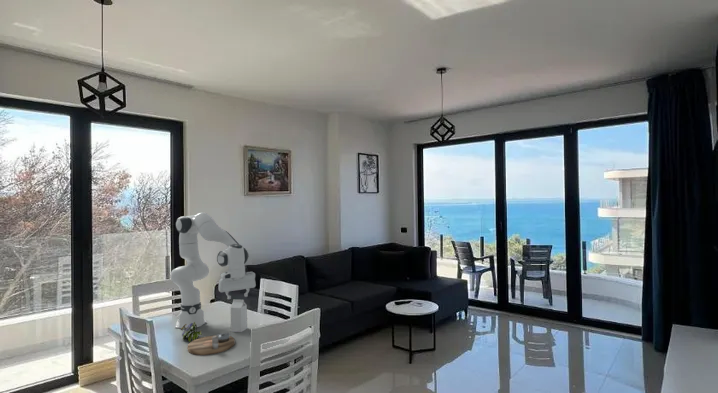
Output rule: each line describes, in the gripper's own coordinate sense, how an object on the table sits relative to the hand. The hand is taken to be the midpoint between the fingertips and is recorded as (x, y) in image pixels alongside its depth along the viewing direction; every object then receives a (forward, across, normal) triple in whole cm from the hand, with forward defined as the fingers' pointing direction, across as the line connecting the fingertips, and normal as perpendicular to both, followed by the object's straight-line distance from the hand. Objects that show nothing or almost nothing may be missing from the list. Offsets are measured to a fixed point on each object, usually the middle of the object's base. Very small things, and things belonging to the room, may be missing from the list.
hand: (237, 297), depth 228 cm
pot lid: (+22, +9, 0) cm, 24 cm away
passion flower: (+25, +22, -20) cm, 39 cm away
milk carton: (+25, -5, -19) cm, 32 cm away
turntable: (+24, +15, 0) cm, 28 cm away
